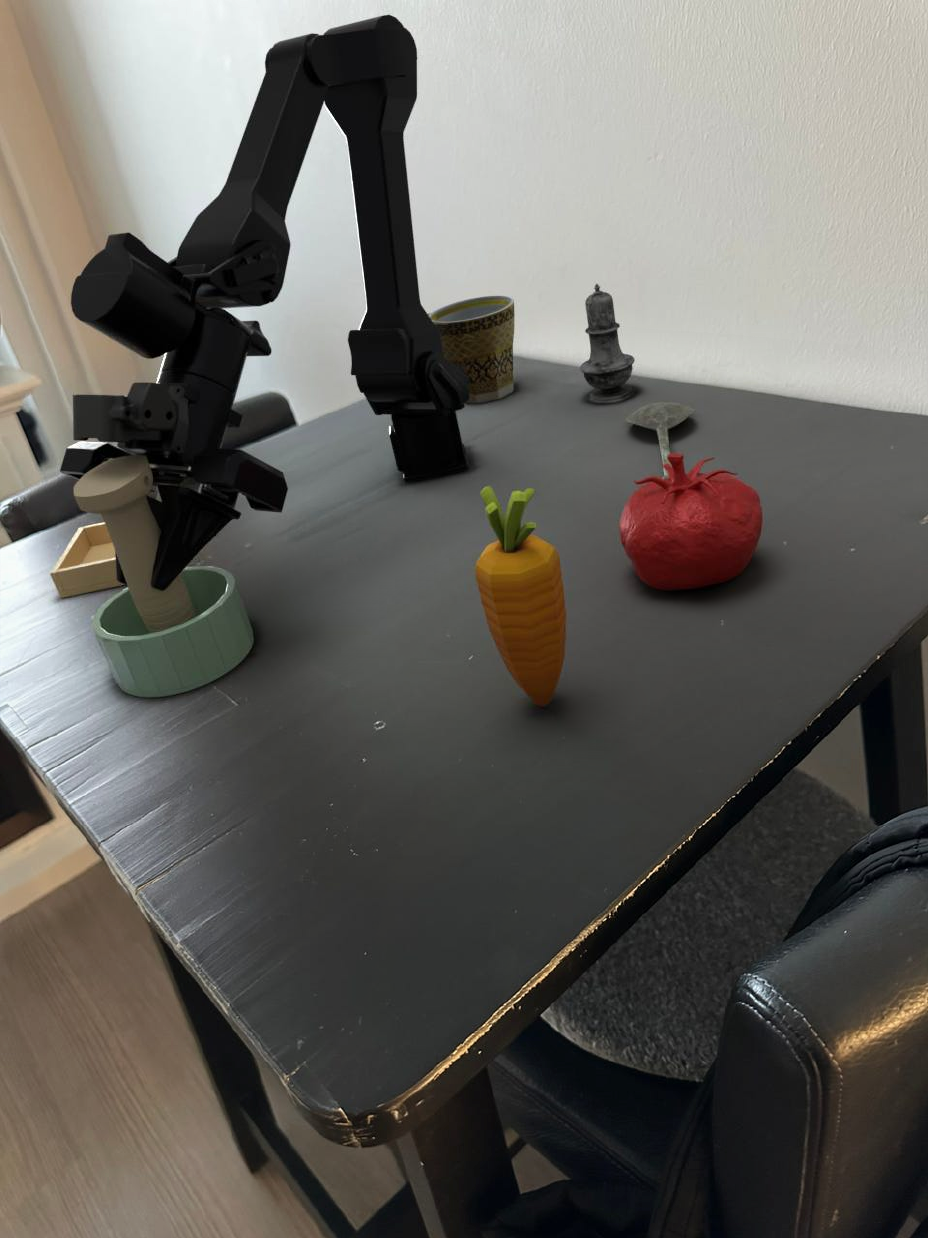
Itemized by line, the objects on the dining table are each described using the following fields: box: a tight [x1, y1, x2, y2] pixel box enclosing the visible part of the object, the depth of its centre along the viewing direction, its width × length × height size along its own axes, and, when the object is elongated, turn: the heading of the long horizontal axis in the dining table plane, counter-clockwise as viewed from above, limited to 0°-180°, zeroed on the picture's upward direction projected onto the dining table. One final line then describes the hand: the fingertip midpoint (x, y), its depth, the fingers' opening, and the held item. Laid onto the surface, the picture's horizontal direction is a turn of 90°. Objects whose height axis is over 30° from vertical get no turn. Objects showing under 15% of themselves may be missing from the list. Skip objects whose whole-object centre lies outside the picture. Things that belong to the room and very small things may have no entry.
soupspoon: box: [625, 401, 695, 479], centre depth 94 cm, size 22×3×7 cm
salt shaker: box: [579, 283, 637, 405], centre depth 109 cm, size 6×6×12 cm
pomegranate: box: [618, 452, 763, 592], centre depth 73 cm, size 10×10×9 cm
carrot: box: [474, 485, 567, 708], centre depth 61 cm, size 5×5×15 cm
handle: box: [73, 454, 195, 634], centre depth 75 cm, size 5×6×15 cm
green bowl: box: [91, 565, 255, 698], centre depth 78 cm, size 11×11×5 cm
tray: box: [49, 521, 125, 599], centre depth 97 cm, size 9×10×3 cm
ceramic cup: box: [427, 295, 516, 404], centre depth 119 cm, size 13×10×10 cm
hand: (140, 586), depth 75 cm, fingers closed on handle, 3 cm apart
